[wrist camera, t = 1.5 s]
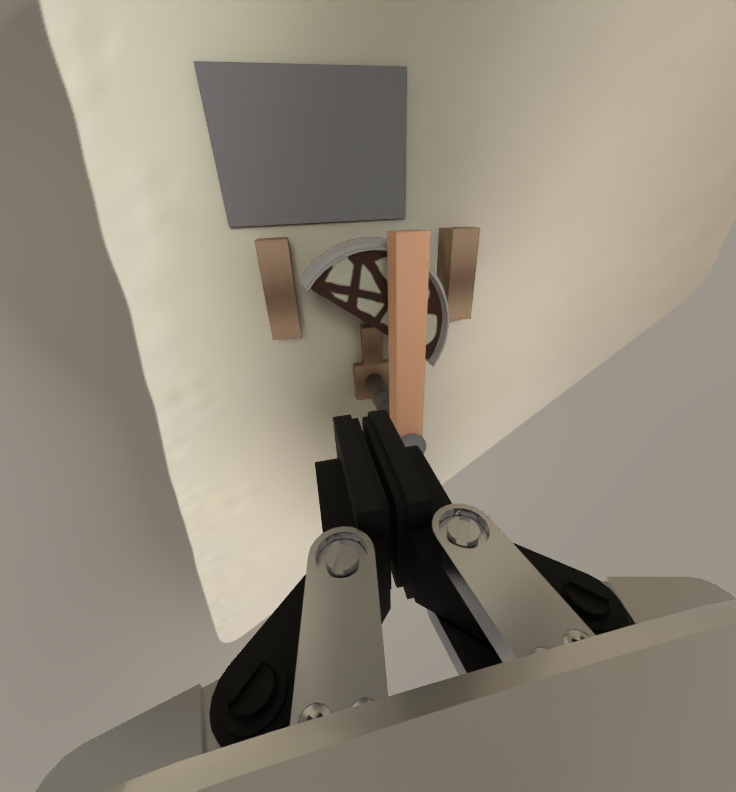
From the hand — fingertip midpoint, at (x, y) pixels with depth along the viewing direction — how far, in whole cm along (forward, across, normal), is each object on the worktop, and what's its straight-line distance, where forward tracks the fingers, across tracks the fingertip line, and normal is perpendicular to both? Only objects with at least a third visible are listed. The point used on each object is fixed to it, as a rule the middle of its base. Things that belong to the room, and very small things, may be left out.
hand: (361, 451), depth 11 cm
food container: (+24, -6, -2) cm, 25 cm away
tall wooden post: (+14, -5, +2) cm, 15 cm away
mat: (+24, -2, -11) cm, 27 cm away
